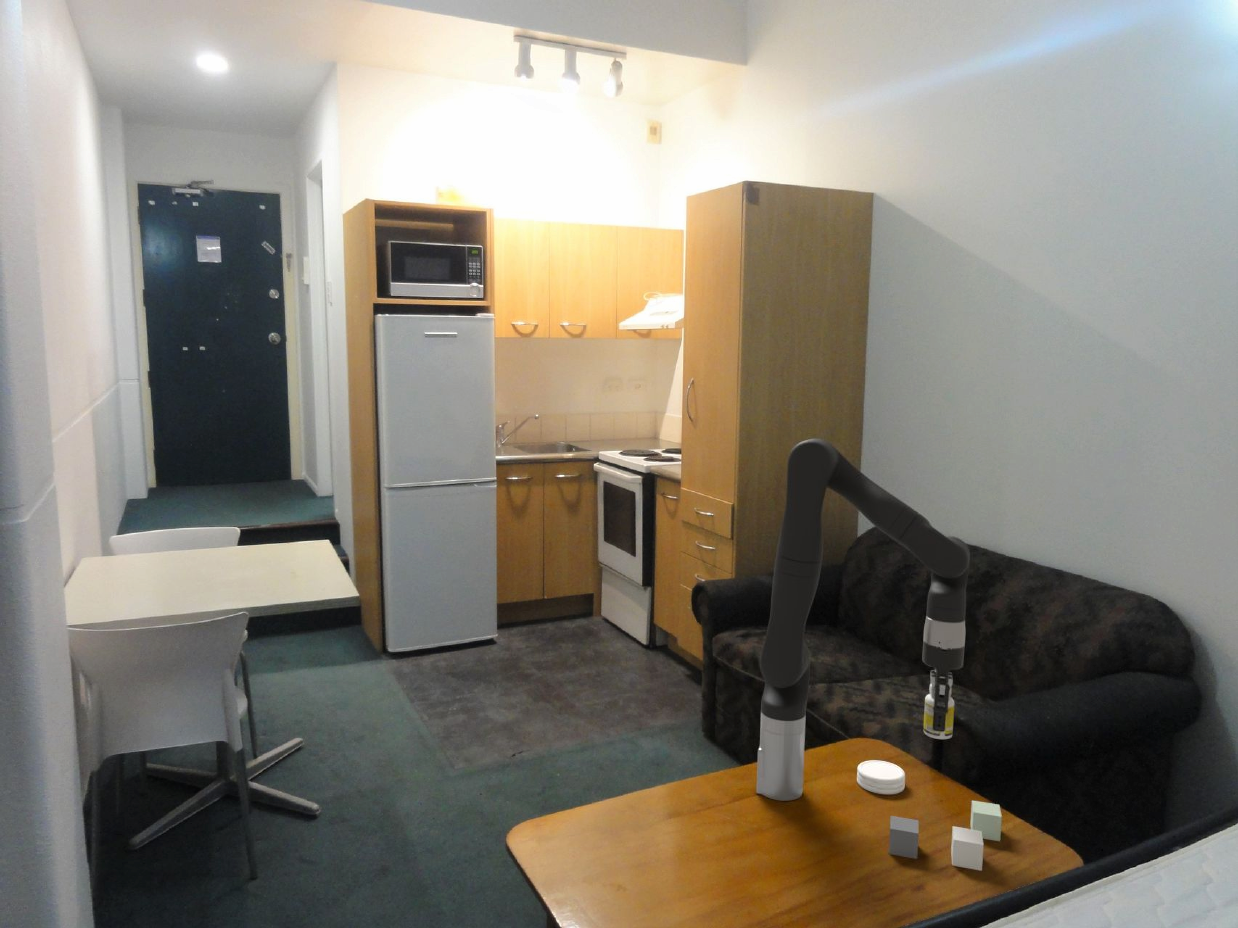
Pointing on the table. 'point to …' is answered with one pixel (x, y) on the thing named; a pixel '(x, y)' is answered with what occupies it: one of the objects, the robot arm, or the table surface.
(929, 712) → the supplement bottle
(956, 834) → the pale grey block
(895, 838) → the medium grey block
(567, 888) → the table surface
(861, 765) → the coaster
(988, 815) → the sage block
